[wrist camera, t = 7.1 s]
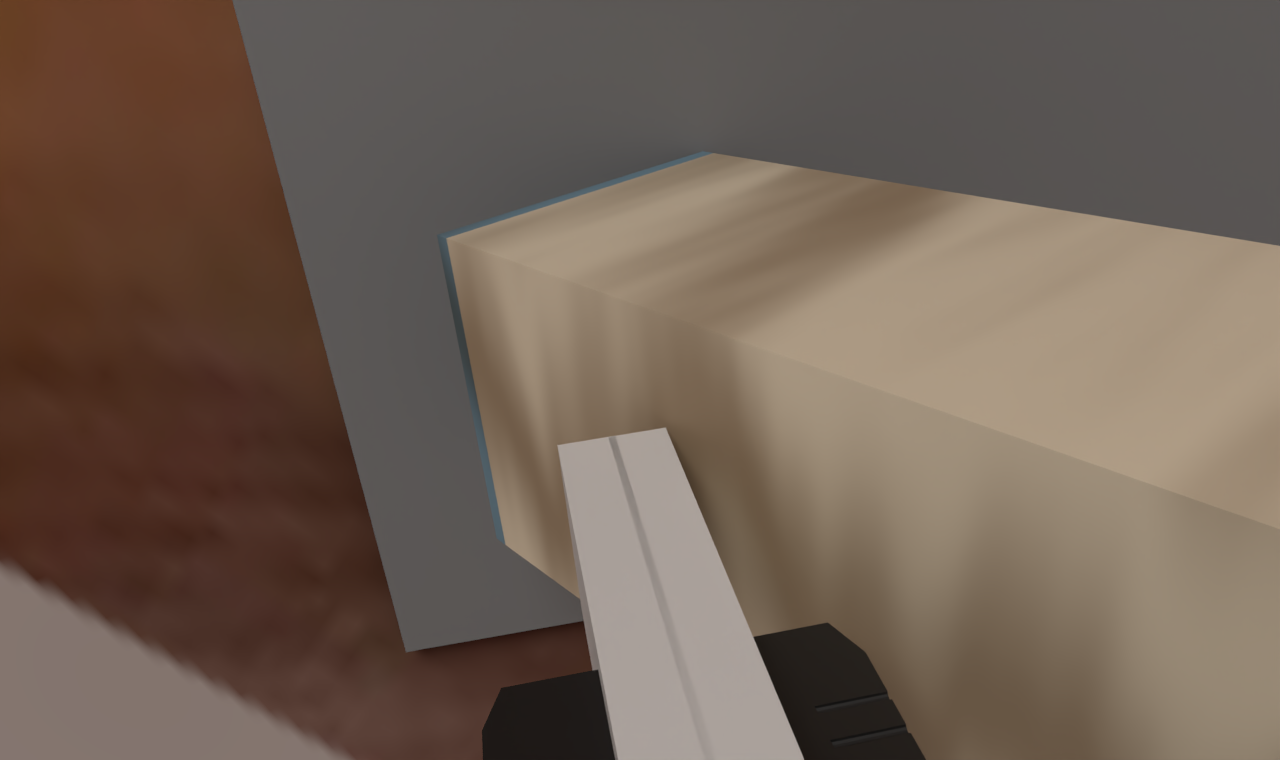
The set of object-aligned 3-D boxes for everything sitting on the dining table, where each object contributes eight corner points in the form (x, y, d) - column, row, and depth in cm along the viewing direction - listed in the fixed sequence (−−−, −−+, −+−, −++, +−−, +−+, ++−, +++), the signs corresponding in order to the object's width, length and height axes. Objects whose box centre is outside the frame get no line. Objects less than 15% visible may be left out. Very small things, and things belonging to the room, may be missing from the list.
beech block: (436, 234, 15) (1433, 583, 6) (702, 151, 19) (1606, 299, 10) (496, 538, 18) (1257, 1091, 9) (719, 418, 21) (1439, 732, 12)
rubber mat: (217, -89, 16) (209, -89, 16) (1486, -219, 19) (1516, -223, 18) (407, 635, 23) (405, 652, 23) (1307, 478, 26) (1325, 489, 25)
